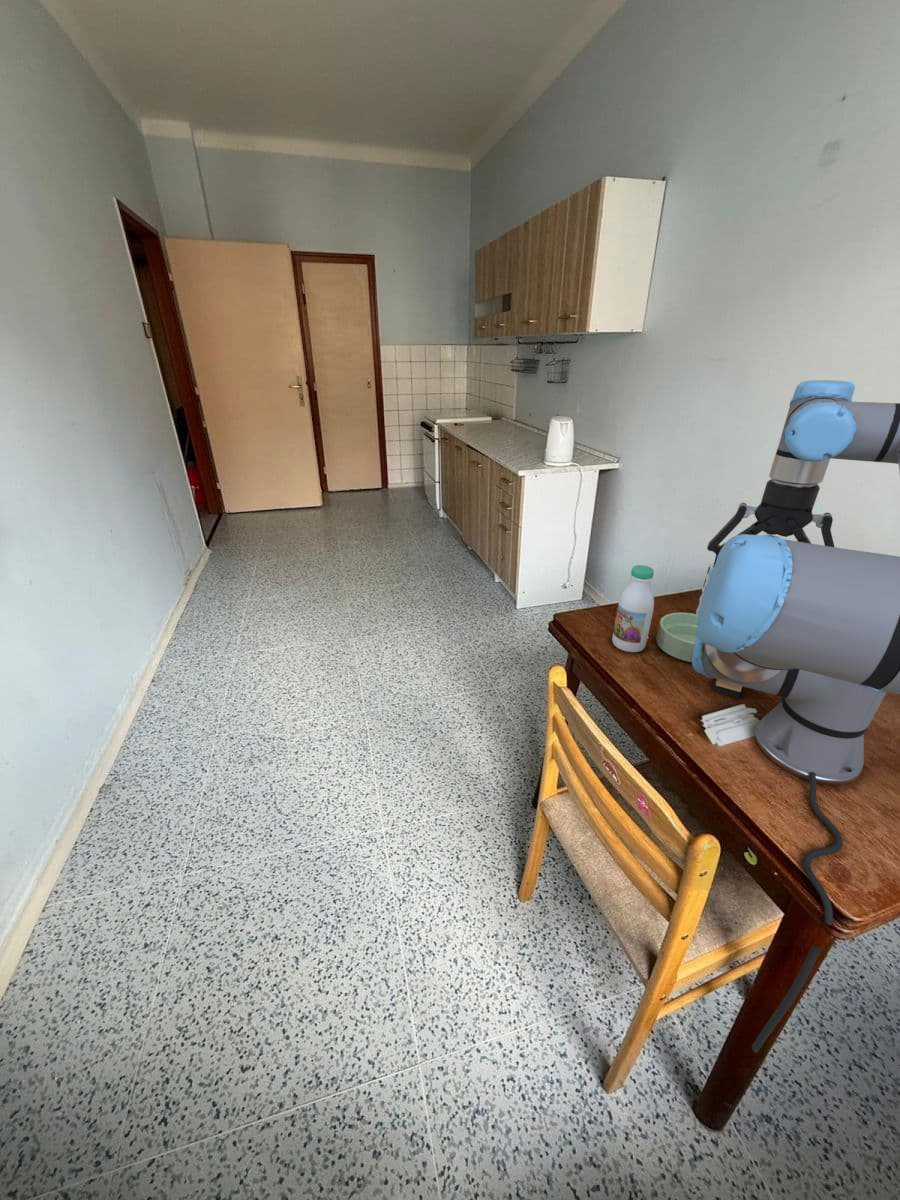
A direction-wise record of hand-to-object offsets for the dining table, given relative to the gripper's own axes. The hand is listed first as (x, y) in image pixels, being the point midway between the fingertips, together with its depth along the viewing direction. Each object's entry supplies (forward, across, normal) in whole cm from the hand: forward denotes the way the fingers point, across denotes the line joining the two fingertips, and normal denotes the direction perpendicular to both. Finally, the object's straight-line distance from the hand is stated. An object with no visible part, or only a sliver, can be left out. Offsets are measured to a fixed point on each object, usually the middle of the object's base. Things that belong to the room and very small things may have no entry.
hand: (757, 593), depth 89 cm
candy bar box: (+22, +5, -28) cm, 36 cm away
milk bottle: (+22, +22, -6) cm, 31 cm away
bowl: (+22, +9, -11) cm, 26 cm away
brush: (+22, 0, 0) cm, 22 cm away
